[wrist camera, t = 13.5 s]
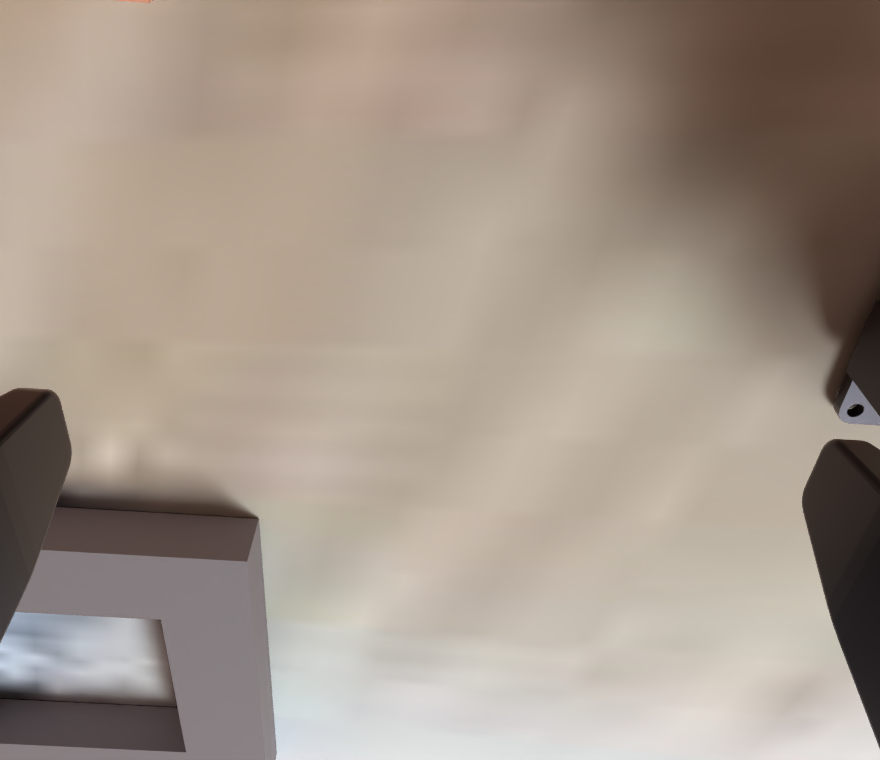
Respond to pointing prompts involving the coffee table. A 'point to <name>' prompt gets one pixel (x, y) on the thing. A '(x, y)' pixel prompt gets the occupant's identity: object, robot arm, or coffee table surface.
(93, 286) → the coffee table surface
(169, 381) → the coffee table surface
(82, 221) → the coffee table surface
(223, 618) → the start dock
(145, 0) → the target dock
